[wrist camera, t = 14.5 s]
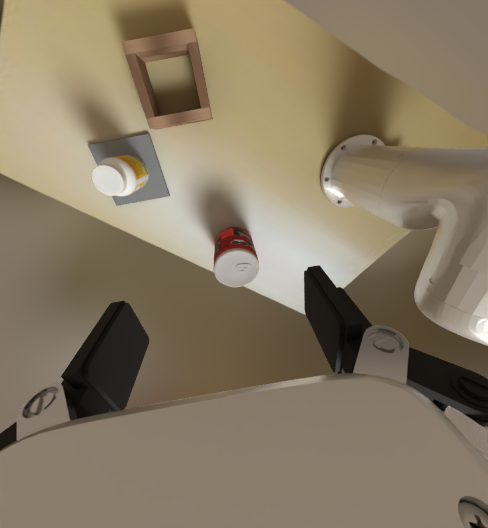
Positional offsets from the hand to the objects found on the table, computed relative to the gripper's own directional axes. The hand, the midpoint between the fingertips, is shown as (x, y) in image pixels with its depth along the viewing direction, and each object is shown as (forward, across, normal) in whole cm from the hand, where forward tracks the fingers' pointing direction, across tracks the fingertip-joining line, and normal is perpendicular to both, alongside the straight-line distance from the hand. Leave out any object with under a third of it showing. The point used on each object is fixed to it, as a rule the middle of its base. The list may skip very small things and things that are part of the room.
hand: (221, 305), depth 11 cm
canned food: (+34, 0, +12) cm, 36 cm away
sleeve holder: (+33, +4, -15) cm, 37 cm away
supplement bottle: (+33, +15, -5) cm, 36 cm away
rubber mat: (+33, +15, -5) cm, 37 cm away
